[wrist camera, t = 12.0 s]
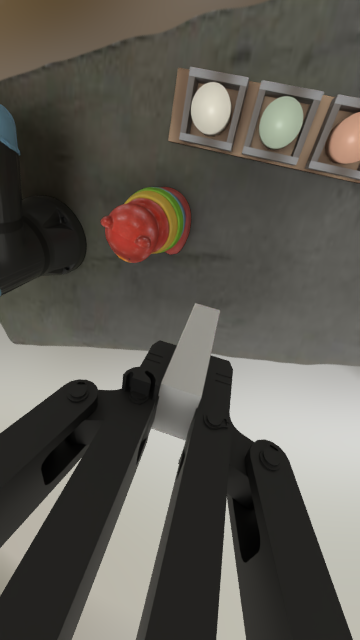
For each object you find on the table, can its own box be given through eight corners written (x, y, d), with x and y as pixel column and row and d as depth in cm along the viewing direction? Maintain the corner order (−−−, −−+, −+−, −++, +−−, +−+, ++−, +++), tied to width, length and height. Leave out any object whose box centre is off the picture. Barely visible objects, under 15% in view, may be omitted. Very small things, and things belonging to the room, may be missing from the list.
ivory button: (191, 132, 35) (187, 129, 33) (199, 85, 33) (195, 78, 30) (225, 139, 35) (223, 137, 32) (236, 93, 32) (235, 86, 29)
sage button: (253, 145, 34) (253, 143, 32) (266, 99, 32) (268, 92, 29) (289, 153, 34) (292, 151, 31) (305, 106, 31) (310, 100, 29)
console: (170, 141, 38) (163, 138, 35) (179, 70, 33) (173, 59, 30) (371, 185, 35) (382, 186, 32) (410, 114, 30) (427, 107, 27)
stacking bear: (128, 224, 46) (70, 248, 31) (152, 170, 40) (96, 167, 26) (176, 258, 47) (142, 296, 32) (206, 209, 41) (181, 228, 26)
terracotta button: (318, 159, 33) (324, 158, 31) (338, 112, 31) (346, 107, 28) (356, 167, 33) (365, 167, 30) (379, 120, 30) (391, 116, 28)
